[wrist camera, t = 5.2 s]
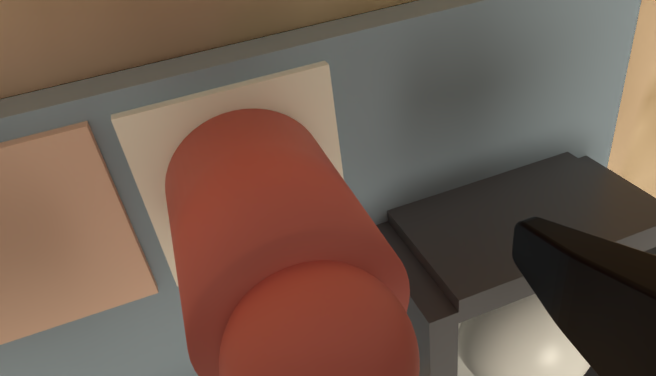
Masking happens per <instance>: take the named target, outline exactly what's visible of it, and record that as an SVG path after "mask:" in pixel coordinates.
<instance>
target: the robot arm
mask: <svg viewBox="0 0 656 376" xmlns="http://www.w3.org/2000/svg"><path fill="white" fill-rule="evenodd" d="M512 257H513V260H514V262H515V264H516V266H517V268H518V269H519V271H520V272H521V274H522V275H523V276H524V278H525V279H526V281H527V282H528V284H529V285H530V287H531V288H532V290H533V291H534V293H535V294H536V296H537V297H538V299H539V300H540V302H541V303H542V305H543V306H544V308H545V309H546V311H547V312H548V314H549V315H550V316H551V318H552V319H553V321H554V322H555V323H556V325H557V326H558V327H559V329H560V330H561V331H562V332H563V334H564V335H565V336H566V337H567V339H568V340H569V341H570V342H571V343H572V345H573V346H574V347H575V348H576V349H577V350H578V352H579V353H580V354H581V355H582V356H583V358H584V359H585V360H586V361H587V362H588V364H589V365H590V366H591V367H592V368H593V370H594V371H595V372H596V373H597V374H598V376H656V255H653V254H650V253H647V252H644V251H641V250H638V249H635V248H632V247H629V246H626V245H623V244H620V243H617V242H614V241H611V240H608V239H604V238H601V237H598V236H595V235H592V234H589V233H586V232H583V231H580V230H577V229H574V228H571V227H568V226H565V225H562V224H559V223H556V222H553V221H550V220H547V219H544V218H541V217H537V216H533V217H529V218H527V219H524V220H521V221H518V222H517V223H516V225H515V227H514V235H513V246H512Z"/></svg>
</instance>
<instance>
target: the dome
mask: <svg viewBox="0 0 656 376" xmlns="http://www.w3.org/2000/svg"><path fill="white" fill-rule="evenodd" d="M589 367H590V365H589V364H588V362H587V361H586V360H585V359H584V358H583V356H582V355H581V354H580V353H579V352H578V350H577V349H576V348H575V347H574V346H573V345H572V343H571V342H570V341H569V340H568V339H567V337H566V336H565V335H564V334H563V332H562V331H561V330H560V329H559V327H558V326H557V325H556V323H555V322H554V321H553V319H552V318H551V316H550V315H549V314H548V312H547V311H546V309H545V308H544V306H543V305H542V303H541V302H540V300H539V299H538V297H537V296H536V294H533V295H530V296H528V297H525V298H523V299H520V300H518V301H515V302H512V303H510V304H507V305H505V306H502V307H500V308H497V309H494V310H492V311H489V312H487V313H484V314H482V315H479V316H476V317H474V318H471V319H469V320H466V321H464V322H461V323H459V327H458V374H457V376H584V374H585V373H586V372H587V370H588V369H589Z"/></svg>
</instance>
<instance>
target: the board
mask: <svg viewBox="0 0 656 376" xmlns="http://www.w3.org/2000/svg"><path fill="white" fill-rule="evenodd" d="M640 4H641V0H418V1H414V2H409V3H405V4H401V5H397V6H392V7H388V8H384V9H380V10H376V11H371V12H367V13H363V14H359V15H354V16H350V17H346V18H342V19H338V20H333V21H329V22H325V23H321V24H316V25H312V26H308V27H304V28H300V29H295V30H291V31H287V32H283V33H279V34H274V35H270V36H266V37H262V38H257V39H253V40H249V41H245V42H241V43H236V44H232V45H228V46H224V47H219V48H215V49H211V50H207V51H203V52H198V53H194V54H190V55H186V56H181V57H177V58H173V59H169V60H165V61H160V62H156V63H152V64H148V65H143V66H139V67H135V68H131V69H127V70H122V71H118V72H114V73H110V74H105V75H101V76H97V77H93V78H89V79H84V80H80V81H76V82H72V83H67V84H63V85H59V86H55V87H51V88H46V89H42V90H38V91H34V92H30V93H25V94H21V95H17V96H13V97H8V98H4V99H0V376H198V374H197V373H196V372H195V370H194V368H193V366H192V364H191V361H190V358H189V354H188V349H187V342H186V335H185V328H184V321H183V314H182V307H181V300H180V293H179V286H178V279H177V272H176V265H175V258H174V251H173V244H172V237H171V230H170V223H169V216H168V209H167V201H166V194H165V179H166V173H167V169H168V165H169V163H170V160H171V158H172V156H173V154H174V152H175V151H176V149H177V147H178V146H179V145H180V143H181V142H182V141H183V140H184V138H185V137H187V136H188V135H189V134H190V133H191V132H192V131H193V130H194V129H195V128H197V127H198V126H200V125H201V124H202V123H204V122H206V121H208V120H209V119H211V118H213V117H216V116H218V115H220V114H223V113H227V112H230V111H234V110H240V109H255V108H257V109H267V110H271V111H276V112H279V113H282V114H284V115H287V116H289V117H291V118H293V119H294V120H296V121H297V122H299V123H300V124H302V125H303V126H304V127H305V128H306V129H307V130H308V131H309V132H310V133H311V134H312V136H313V137H314V139H315V140H316V141H317V143H318V144H319V146H320V147H321V148H322V150H323V151H324V153H325V154H326V155H327V157H328V158H329V160H330V161H331V162H332V164H333V165H334V167H335V168H336V170H337V171H338V172H339V174H340V175H341V177H342V178H343V179H344V181H345V182H346V184H347V185H348V186H349V188H350V189H351V191H352V192H353V194H354V195H355V196H356V198H357V199H358V201H359V202H360V203H361V205H362V206H363V208H364V209H365V210H366V212H367V213H368V215H369V216H370V217H371V219H372V220H373V222H374V223H375V225H378V224H381V223H384V222H387V221H388V215H387V210H391V209H394V208H397V207H400V206H403V205H406V204H409V203H412V202H415V201H418V200H421V199H424V198H427V197H430V196H433V195H436V194H440V193H443V192H446V191H449V190H452V189H455V188H458V187H461V186H464V185H467V184H470V183H473V182H476V181H479V180H482V179H485V178H489V177H492V176H495V175H498V174H501V173H504V172H507V171H510V170H513V169H516V168H519V167H522V166H525V165H528V164H531V163H534V162H538V161H541V160H544V159H547V158H550V157H553V156H556V155H559V154H562V153H565V152H569V153H571V154H572V155H574V156H575V157H577V158H580V157H583V156H586V155H587V156H588V157H590V158H591V159H593V160H595V161H596V162H598V163H599V164H601V165H603V166H604V167H606V168H607V165H608V161H609V156H610V151H611V146H612V141H613V136H614V131H615V126H616V121H617V117H618V112H619V107H620V102H621V97H622V92H623V87H624V82H625V78H626V73H627V68H628V63H629V58H630V53H631V48H632V43H633V38H634V34H635V29H636V24H637V19H638V14H639V9H640Z"/></svg>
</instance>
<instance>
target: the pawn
mask: <svg viewBox="0 0 656 376" xmlns="http://www.w3.org/2000/svg"><path fill="white" fill-rule="evenodd" d="M165 194H166V201H167V209H168V216H169V223H170V230H171V237H172V244H173V251H174V258H175V265H176V272H177V279H178V286H179V293H180V300H181V307H182V314H183V321H184V328H185V335H186V342H187V349H188V354H189V358H190V361H191V364H192V366H193V368H194V370H195V372H196V373H197V374H198V376H419V372H420V358H419V348H418V343H417V338H416V335H415V331H414V328H413V326H412V323H411V321H410V319H409V317H408V315H407V309H408V305H409V297H410V286H409V279H408V275H407V271H406V269H405V267H404V265H403V263H402V261H401V260H400V258H399V257H398V256H397V254H396V253H395V251H394V250H393V249H392V247H391V246H390V244H389V243H388V241H387V240H386V239H385V237H384V236H383V234H382V233H381V232H380V230H379V229H378V227H377V226H376V225H375V223H374V222H373V220H372V219H371V217H370V216H369V215H368V213H367V212H366V210H365V209H364V208H363V206H362V205H361V203H360V202H359V201H358V199H357V198H356V196H355V195H354V194H353V192H352V191H351V189H350V188H349V186H348V185H347V184H346V182H345V181H344V179H343V178H342V177H341V175H340V174H339V172H338V171H337V170H336V168H335V167H334V165H333V164H332V162H331V161H330V160H329V158H328V157H327V155H326V154H325V153H324V151H323V150H322V148H321V147H320V146H319V144H318V143H317V141H316V140H315V139H314V137H313V136H312V134H311V133H310V132H309V131H308V130H307V129H306V128H305V127H304V126H303V125H302V124H300V123H299V122H297V121H296V120H294V119H293V118H291V117H289V116H287V115H284V114H282V113H279V112H276V111H271V110H267V109H257V108H255V109H240V110H234V111H230V112H227V113H223V114H220V115H218V116H216V117H213V118H211V119H209V120H208V121H206V122H204V123H202V124H201V125H200V126H198V127H197V128H195V129H194V130H193V131H192V132H191V133H190V134H189V135H188V136H187V137H185V138H184V140H183V141H182V142H181V143H180V145H179V146H178V147H177V149H176V151H175V152H174V154H173V156H172V158H171V160H170V163H169V165H168V169H167V173H166V179H165Z"/></svg>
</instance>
